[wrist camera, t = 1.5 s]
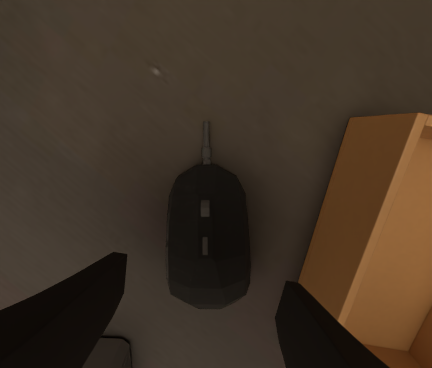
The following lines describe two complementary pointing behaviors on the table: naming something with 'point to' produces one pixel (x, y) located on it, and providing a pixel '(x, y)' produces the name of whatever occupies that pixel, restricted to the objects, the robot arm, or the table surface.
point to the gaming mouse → (207, 236)
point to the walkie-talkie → (109, 354)
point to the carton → (379, 238)
